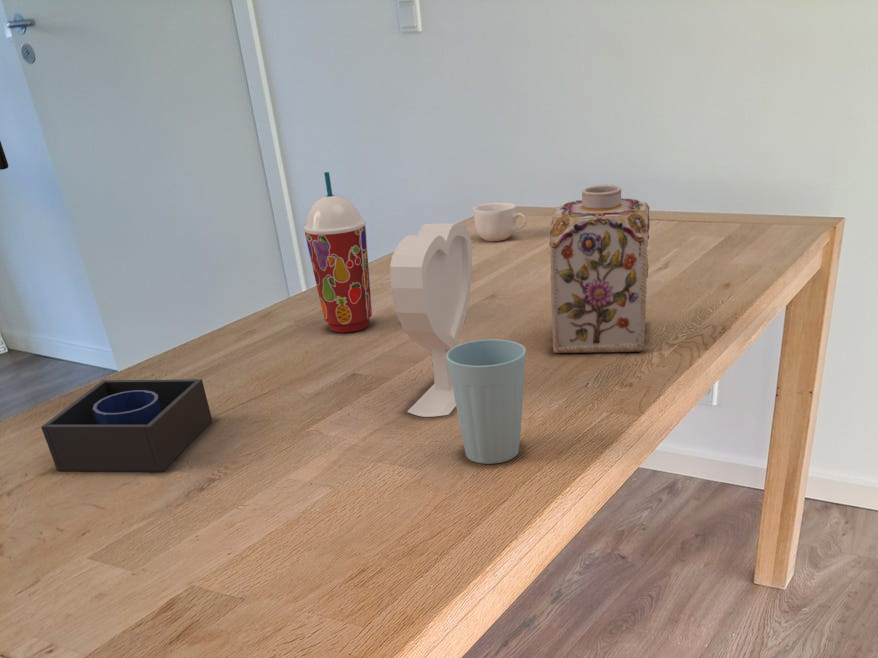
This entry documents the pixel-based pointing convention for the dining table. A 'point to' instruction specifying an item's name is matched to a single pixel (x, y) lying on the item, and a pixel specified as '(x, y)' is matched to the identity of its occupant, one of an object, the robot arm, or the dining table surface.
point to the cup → (488, 397)
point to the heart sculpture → (433, 301)
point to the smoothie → (339, 261)
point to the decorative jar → (599, 272)
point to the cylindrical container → (128, 408)
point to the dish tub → (128, 429)
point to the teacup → (496, 220)
